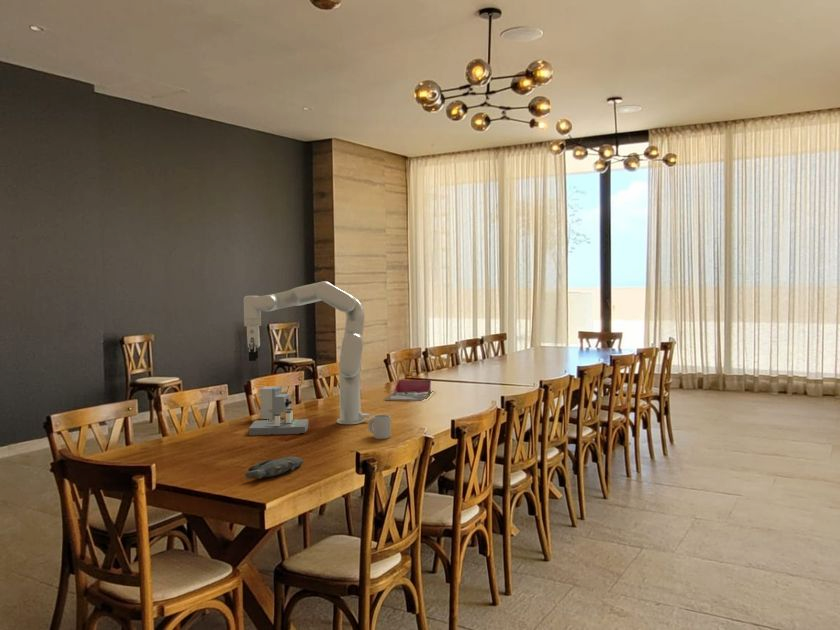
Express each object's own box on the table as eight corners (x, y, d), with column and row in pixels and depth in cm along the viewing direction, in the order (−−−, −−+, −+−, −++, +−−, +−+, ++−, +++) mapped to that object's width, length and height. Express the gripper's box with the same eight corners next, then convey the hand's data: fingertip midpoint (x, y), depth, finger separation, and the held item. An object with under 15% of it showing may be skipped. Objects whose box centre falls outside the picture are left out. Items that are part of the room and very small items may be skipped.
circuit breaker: (287, 420, 333) (287, 389, 332) (259, 419, 336) (259, 388, 335) (293, 417, 340) (292, 386, 340) (266, 416, 343) (265, 386, 343)
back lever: (292, 419, 318) (292, 407, 318) (292, 420, 316) (291, 408, 315) (288, 419, 318) (287, 407, 318) (287, 420, 315) (287, 408, 315)
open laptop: (437, 392, 414) (436, 379, 413) (425, 403, 379) (425, 388, 379) (397, 392, 418) (396, 378, 418) (382, 402, 384) (382, 387, 384)
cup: (385, 439, 289) (385, 418, 289) (364, 437, 294) (364, 416, 293) (393, 436, 296) (393, 415, 295) (372, 434, 300) (372, 413, 300)
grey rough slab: (309, 452, 249) (276, 453, 256) (261, 467, 227) (227, 467, 234) (310, 466, 248) (277, 466, 256) (262, 483, 227) (228, 482, 234)
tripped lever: (280, 424, 306) (280, 412, 306) (279, 426, 303) (279, 414, 303) (275, 425, 306) (275, 413, 305) (274, 426, 303) (274, 414, 303)
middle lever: (291, 422, 312) (291, 410, 312) (290, 423, 310) (290, 411, 309) (286, 422, 312) (286, 410, 312) (285, 423, 309) (285, 411, 309)
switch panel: (308, 425, 320) (308, 418, 320) (305, 433, 303) (304, 426, 303) (255, 427, 318) (255, 420, 318) (248, 435, 301) (248, 428, 301)
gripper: (259, 323, 312) (260, 361, 313) (262, 321, 329) (263, 357, 330) (242, 323, 311) (243, 362, 312) (246, 321, 328) (247, 358, 329)
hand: (253, 359), depth 321 cm, fingers open, 9 cm apart
